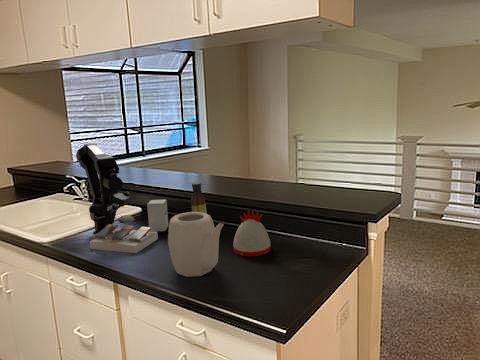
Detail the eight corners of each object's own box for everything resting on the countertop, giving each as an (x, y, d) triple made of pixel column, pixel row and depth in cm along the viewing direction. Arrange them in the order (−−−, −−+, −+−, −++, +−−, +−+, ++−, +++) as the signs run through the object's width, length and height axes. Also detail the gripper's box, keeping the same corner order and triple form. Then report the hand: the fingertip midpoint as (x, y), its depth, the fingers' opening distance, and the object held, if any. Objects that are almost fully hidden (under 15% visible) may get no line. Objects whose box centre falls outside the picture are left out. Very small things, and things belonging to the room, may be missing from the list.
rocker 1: (96, 238, 162) (95, 235, 161) (109, 227, 170) (108, 224, 169) (105, 239, 160) (104, 236, 160) (118, 228, 168) (117, 224, 168)
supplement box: (165, 231, 176) (163, 203, 174) (149, 231, 177) (146, 203, 174) (169, 226, 184) (166, 199, 181) (152, 226, 184) (150, 199, 181)
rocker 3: (130, 241, 157) (129, 238, 156) (142, 230, 164) (141, 226, 164) (140, 242, 155) (139, 238, 154) (151, 230, 163) (151, 227, 162)
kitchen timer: (267, 257, 143) (266, 216, 140) (230, 255, 146) (227, 215, 143) (272, 243, 156) (271, 205, 153) (237, 242, 159) (236, 205, 156)
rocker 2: (113, 240, 159) (112, 236, 159) (125, 228, 167) (124, 225, 166) (122, 241, 158) (121, 237, 157) (134, 229, 165) (133, 225, 165)
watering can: (207, 292, 119) (203, 230, 115) (154, 269, 137) (149, 215, 133) (243, 273, 130) (240, 217, 126) (189, 255, 148) (185, 205, 144)
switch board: (88, 248, 159) (87, 238, 159) (113, 235, 174) (112, 225, 173) (137, 253, 152) (136, 242, 151) (159, 239, 166) (159, 229, 166)
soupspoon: (124, 225, 191) (137, 222, 195) (124, 218, 190) (136, 216, 195) (101, 216, 206) (113, 213, 210) (101, 209, 205) (113, 207, 210)
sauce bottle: (208, 224, 183) (206, 181, 180) (206, 228, 177) (203, 184, 173) (194, 224, 184) (191, 181, 180) (191, 228, 178) (188, 184, 174)
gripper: (109, 193, 153) (114, 232, 156) (137, 183, 170) (141, 218, 174) (85, 192, 157) (90, 230, 160) (115, 182, 174) (119, 217, 177)
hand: (111, 224), depth 168 cm, fingers closed
